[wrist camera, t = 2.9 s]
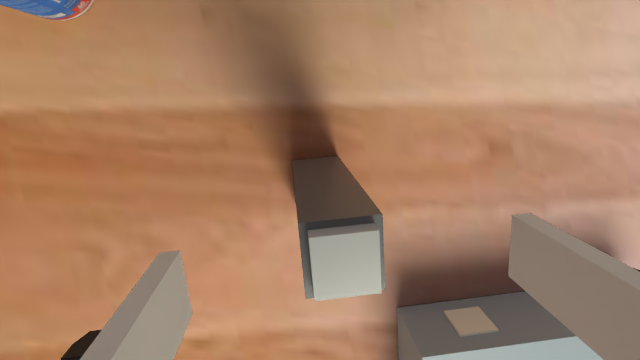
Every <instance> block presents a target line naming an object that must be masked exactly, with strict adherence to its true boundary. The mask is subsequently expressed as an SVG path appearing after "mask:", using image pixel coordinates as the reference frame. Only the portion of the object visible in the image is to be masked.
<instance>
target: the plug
mask: <svg viewBox="0 0 640 360" xmlns="http://www.w3.org/2000/svg"><path fill="white" fill-rule="evenodd" d="M292 169H293V179H294V189H295V199H296V209H297V219H298V229H299V238H300V248H301V258H302V268H303V278H304V288H305V298H306V299H308V298H314V301H321V300H329V299H337V298H345V297H353V296H361V295H369V294H377V293H382V289H385V274H384V245H383V217H382V213H381V212H380V210H379V209H378V208H377V206H376V205H375V204H374V203H373V201H372V200H371V199H370V197H369V196H368V195H367V193H366V192H365V191H364V189H363V188H362V187H361V186H360V184H359V183H358V182H357V180H356V179H355V178H354V176H353V175H352V174H351V173H350V171H349V170H348V169H347V167H346V166H345V165H344V163H343V162H342V161H341V160H340V158H339V157H338V156H332V157H321V158H311V159H300V160H292Z"/></svg>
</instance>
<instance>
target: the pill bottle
mask: <svg viewBox="0 0 640 360" xmlns="http://www.w3.org/2000/svg"><path fill="white" fill-rule="evenodd" d="M93 1H94V0H0V5H3V6H6V7H10V8H13V9H16V10H20V11H23V12H26V13H29V14H32V15H36V16H39V17H42V18H46V19H51V20H70V19H73V18H76V17H78V16H80V15H82V14H83V13H84V12H86V11H87V10H88V9H89V8H90V6H91V5H92V3H93Z"/></svg>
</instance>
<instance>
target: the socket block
mask: <svg viewBox="0 0 640 360" xmlns="http://www.w3.org/2000/svg"><path fill="white" fill-rule="evenodd" d="M397 331H398V360H603V359H602V358H601V357H600V356H599V355H598V354H596V353H595V352H594V351H593V350H592V349H591V348H590V347H588V346H587V345H586V344H585V343H584V342H583V341H582V340H580V339H579V338H578V337H577V336H576V335H575V334H574V333H573V332H571V331H570V330H569V329H568V328H567V327H566V326H565V325H563V324H562V323H561V322H560V321H559V320H558V319H557V318H555V317H554V316H553V315H552V314H551V313H550V312H549V311H547V310H546V309H545V308H544V307H543V306H542V305H541V304H539V303H538V302H537V301H536V300H535V299H534V298H533V297H531V296H530V295H529V294H528V293H527V292H526V291H523V292H516V293H508V294H500V295H492V296H484V297H476V298H469V299H461V300H453V301H445V302H437V303H429V304H422V305H414V306H406V307H398V308H397Z"/></svg>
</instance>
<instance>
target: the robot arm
mask: <svg viewBox="0 0 640 360" xmlns="http://www.w3.org/2000/svg"><path fill="white" fill-rule="evenodd" d="M508 276H509V277H510V278H511V279H512V280H513V281H514V282H516V283H517V284H518V285H519V286H520V287H521V288H522V289H524V290H525V291H526V292H527V293H528V294H529V295H530V296H531V297H533V298H534V299H535V300H536V301H537V302H538V303H539V304H541V305H542V306H543V307H544V308H545V309H546V310H547V311H549V312H550V313H551V314H552V315H553V316H554V317H555V318H557V319H558V320H559V321H560V322H561V323H562V324H563V325H565V326H566V327H567V328H568V329H569V330H570V331H571V332H573V333H574V334H575V335H576V336H577V337H578V338H579V339H580V340H582V341H583V342H584V343H585V344H586V345H587V346H588V347H590V348H591V349H592V350H593V351H594V352H595V353H596V354H598V355H599V356H600V357H601V358H602V359H603V360H640V270H638V269H635V268H632V267H630V266H628V265H626V264H624V263H623V262H621V261H619V260H617V259H615V258H613V257H611V256H610V255H608V254H606V253H604V252H602V251H600V250H598V249H597V248H595V247H593V246H591V245H589V244H587V243H585V242H584V241H582V240H580V239H578V238H576V237H574V236H572V235H571V234H569V233H567V232H565V231H563V230H561V229H559V228H557V227H556V226H554V225H552V224H550V223H548V222H546V221H544V220H543V219H541V218H539V217H537V216H535V215H533V214H531V213H525V214H516V215H512V226H511V241H510V256H509V270H508ZM191 316H192V308H191V303H190V298H189V293H188V288H187V283H186V278H185V273H184V267H183V262H182V257H181V252H180V251H171V252H161V253H159V254H158V255H157V257H156V258H155V259H154V261H153V262H152V263H151V265H150V266H149V267H148V269H147V270H146V271H145V273H144V274H143V276H142V277H141V278H140V280H139V281H138V282H137V284H136V285H135V286H134V288H133V289H132V290H131V292H130V293H129V294H128V296H127V297H126V298H125V300H124V301H123V302H122V304H121V305H120V306H119V308H118V309H117V310H116V312H115V313H114V314H113V316H112V317H111V318H110V320H109V321H108V322H107V324H106V325H105V326H104V328H103V329H102V330H96V331H89V332H88V333H87V334H86V335H84V336H83V337H82V338H80V339H79V340H78V341H76V342H75V343H74V344H72V346H71V347H70V348H69V349H68V350H67V352H66V353H65V354H64V355H63V357H62V358H61V360H174V357H175V355H176V352H177V350H178V348H179V345H180V343H181V340H182V338H183V335H184V333H185V330H186V328H187V325H188V323H189V321H190V318H191Z"/></svg>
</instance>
